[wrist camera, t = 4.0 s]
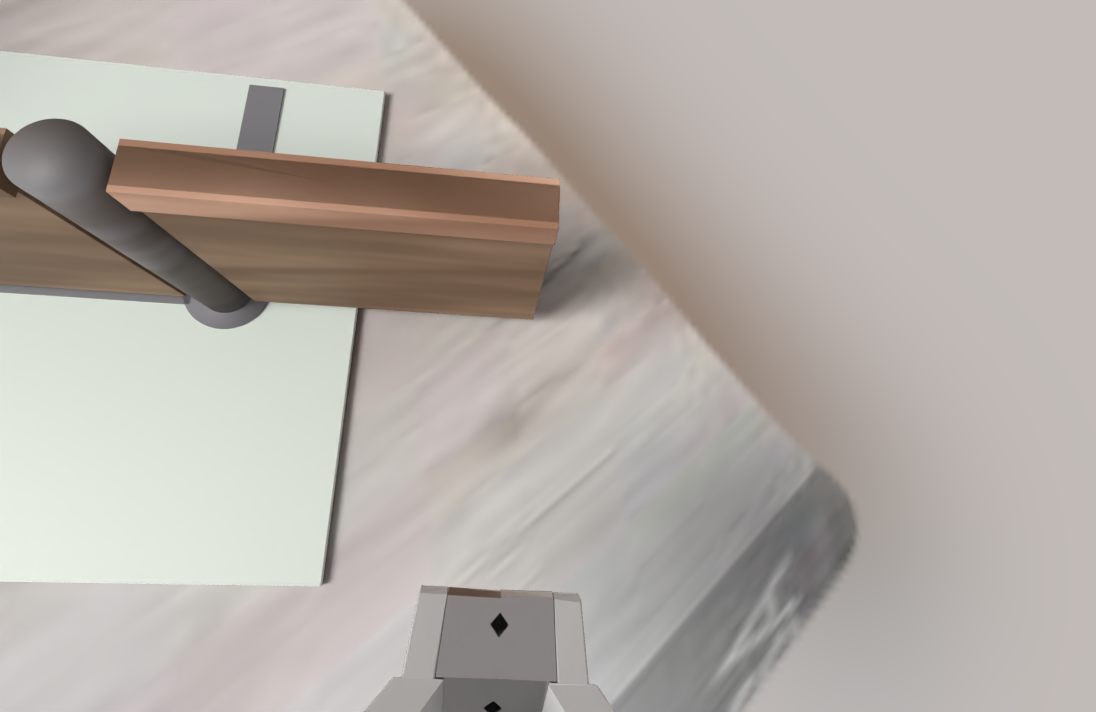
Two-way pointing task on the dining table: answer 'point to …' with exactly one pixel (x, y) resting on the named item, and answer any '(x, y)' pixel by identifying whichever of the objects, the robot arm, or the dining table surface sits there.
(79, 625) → the dining table surface
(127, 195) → the fence panel
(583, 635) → the robot arm
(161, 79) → the card
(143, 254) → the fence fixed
